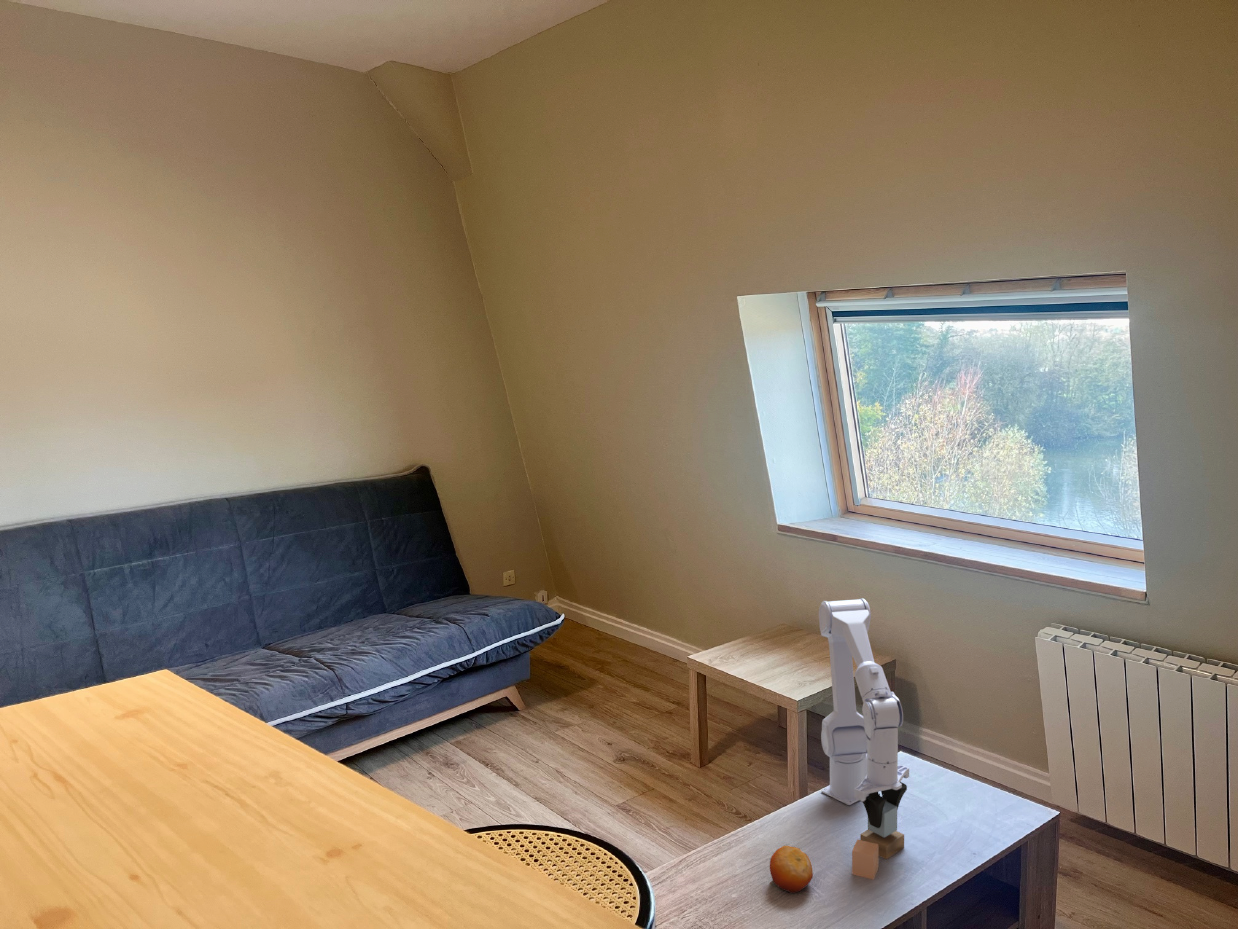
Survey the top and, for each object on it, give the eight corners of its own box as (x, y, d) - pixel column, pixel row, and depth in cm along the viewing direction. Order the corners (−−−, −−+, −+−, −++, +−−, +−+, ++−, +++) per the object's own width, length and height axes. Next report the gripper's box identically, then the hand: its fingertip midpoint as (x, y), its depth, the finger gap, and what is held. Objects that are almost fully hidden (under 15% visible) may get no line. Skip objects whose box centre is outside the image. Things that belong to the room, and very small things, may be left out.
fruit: (774, 857, 177) (792, 832, 174) (806, 889, 174) (825, 864, 170) (752, 878, 171) (770, 851, 168) (784, 911, 168) (804, 885, 164)
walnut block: (878, 836, 186) (878, 822, 186) (904, 848, 181) (904, 834, 181) (860, 848, 182) (860, 834, 182) (886, 860, 178) (886, 846, 177)
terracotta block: (857, 863, 177) (857, 839, 176) (878, 868, 175) (878, 844, 174) (852, 874, 173) (852, 850, 173) (873, 880, 172) (873, 855, 171)
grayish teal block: (880, 822, 184) (880, 798, 183) (897, 830, 181) (897, 806, 180) (867, 829, 182) (867, 805, 181) (884, 837, 179) (884, 813, 178)
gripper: (875, 776, 172) (875, 843, 174) (922, 752, 180) (922, 816, 182) (845, 763, 177) (846, 828, 179) (892, 740, 186) (892, 803, 188)
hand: (882, 821), depth 181 cm, fingers closed on grayish teal block, 4 cm apart
